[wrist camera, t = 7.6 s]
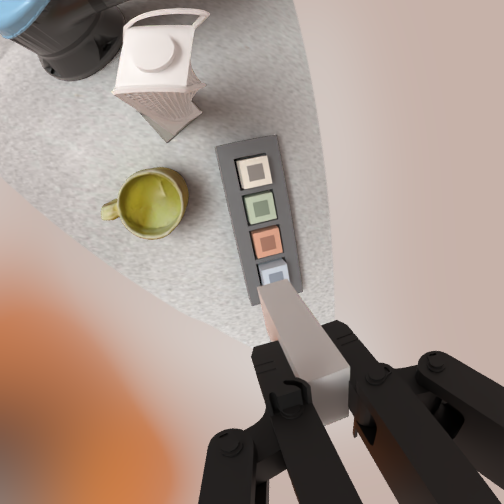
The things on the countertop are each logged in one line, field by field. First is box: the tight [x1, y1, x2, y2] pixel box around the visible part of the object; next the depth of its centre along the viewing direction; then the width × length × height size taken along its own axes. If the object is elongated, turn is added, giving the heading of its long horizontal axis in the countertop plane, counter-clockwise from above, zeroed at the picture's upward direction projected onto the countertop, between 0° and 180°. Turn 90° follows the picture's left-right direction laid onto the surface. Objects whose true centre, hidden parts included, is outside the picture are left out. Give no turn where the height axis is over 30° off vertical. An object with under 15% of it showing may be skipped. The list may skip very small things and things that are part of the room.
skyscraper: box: [111, 8, 210, 143], centre depth 26 cm, size 8×8×28 cm
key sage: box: [242, 190, 277, 224], centre depth 44 cm, size 4×4×3 cm
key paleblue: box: [258, 258, 290, 285], centre depth 46 cm, size 4×4×3 cm
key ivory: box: [236, 156, 272, 189], centre depth 41 cm, size 4×4×3 cm
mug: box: [101, 167, 189, 240], centre depth 38 cm, size 12×10×10 cm
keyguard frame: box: [215, 135, 303, 306], centre depth 45 cm, size 26×9×2 cm, turn 12°
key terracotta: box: [250, 225, 283, 259], centre depth 46 cm, size 4×4×3 cm
